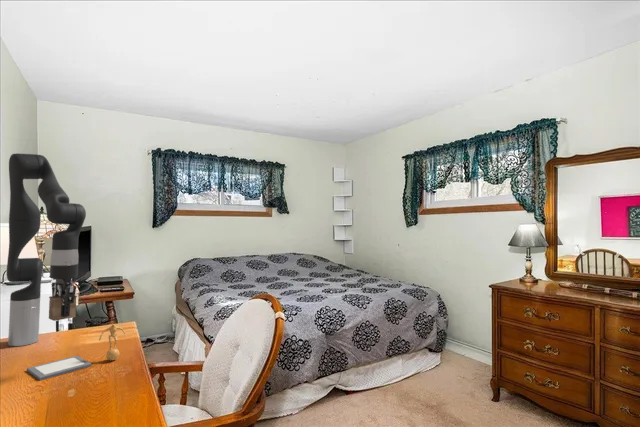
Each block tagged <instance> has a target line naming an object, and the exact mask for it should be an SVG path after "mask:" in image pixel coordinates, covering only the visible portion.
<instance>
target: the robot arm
mask: <svg viewBox="0 0 640 427" xmlns="http://www.w3.org/2000/svg"><path fill="white" fill-rule="evenodd" d="M8 160H9V161H8V176H9V192H10V195H9V197H10V199H9V214H8V240H9V241H8V254H7V255H8V256H7V264H6V278H7V281H8V282H9V283H22V282H24V283H25V282H26V283H27V282H30V283H29V285H26V286H25V287H24V288H20V289H18V290H15V291H12V292H11V293H10V300H9V317H8V318H9V321H8V337H7V338H8V340H7V341H8V342H7V343H8V344H7V345H8V346H10V347H22V346H27V345H32V344H35V343H37V342H38V341H39V337H40V334H39V333H40V332H39V331H40V313H41V292H42V290H41V289H42V288H41V287H42V286H41V285H42V277H43V276H42V275H43V266H44V265H43V260H42V258H40V257H28V258H27V257H25V258H24V257H23V258H19V257H20V254H21V253H22V251H23V249H24V248H25V247H26V246H27V245H28V243H29V242H31V240H32V239H33V238H34V237H35V236H36V235H37V234H38V232H39V231H40V228H41V216H42V215H41V211H40V208H39V207H38V205H37V204H36V203H35V202H34V200H32V198H31V197H30V195H29V194H28V193H27V191H26V189H25V186H24V180H39V179H41V182H40V183H39V185H38V187H37V195H38V197H39V198H40V200H41V201H42V203H43V204H44V206H45V210H46V219H47V220H48V221H49V222H51V223H52V224H55V225H68V227H67V228H66V229H65V230H60V231H57V232H54V233H53V234H52V241H51V245H52V246H51V253H50V263H49V264H50V265H49V266H50V267H49V278H50V279H53V280H55V282H51V284H50V285H51V293H52V294H51V296H59V298H61V305H62V306H61V317H68V316H69V315H70V304H71V303H74V298H75V295H76V292H77V286H76V285H74V283H73V281H72V279H75V278H77V277H78V275H79V237H80V233H81V230H82V228H83V224H84V223H85V219H86V215H87V214H86V213H87V212H86V209H85V207H84V206H83V205H82V204H80V203H72V202H71V203H70V197H69V196H68V194H67V193H66V191H65V190H64V189H63V188H62V186H61V185H60V184H59V182H58V179H57V177H56V175H55V172H54V170H53V167H52V165H51V164H50V162H49V160H48V159H47V158H46V157H45V156H44V155H42V154H35V153H12V154H11V155H10V157H9V159H8ZM67 299H68V300H67Z"/></svg>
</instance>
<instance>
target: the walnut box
mask: <svg viewBox="0 0 640 427" xmlns="http://www.w3.org/2000/svg"><path fill="white" fill-rule="evenodd" d="M77 297H78V295H76V294H75V298H74V303H71V304H70V315H69V316H68V317H61V306H62V305H61V298H59V296H52V295H51V296H49V297H48V298H49V300H48V301H49V303H48V304H49V305H48V319H49V320H51V321H60V320H67V319H71V318H72V319H73V318H76V311H77V310H76V309H77ZM67 300H68V299H67Z"/></svg>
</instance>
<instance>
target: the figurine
mask: <svg viewBox="0 0 640 427" xmlns="http://www.w3.org/2000/svg"><path fill="white" fill-rule="evenodd" d="M117 330H121V331H122V333H123V334H124V336H125V338H127V334H126V332H125V330H124V328H122V327H119V326H117V325H115V324H112V325H110V326H109V327H107V328H105V329H104V330H103V331H102V332H101V335H99V338H98V341H101V340H102V337H103V334H104V333H105V332H108V331H109V333H110V334H109V335H108V343H109V349H108V351H107V352H106V354H105V357H106V359H107V360H108V361H116V360H117V359H118V358H119V357H120V351H119V349H118V348H117V345H116V344H117V342H118V334H116V332H117ZM113 340H114V346H113V348H112V341H113Z"/></svg>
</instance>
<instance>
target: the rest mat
mask: <svg viewBox="0 0 640 427" xmlns="http://www.w3.org/2000/svg"><path fill="white" fill-rule="evenodd" d="M89 367H93V366H92V363H91V362H89V361H87V360H86V359H84V358H83V357H80V356H78V355H73V356H71V357H66V358H61V359H57V360H54V361H50V362H46V363H42V364H38V365H33V366H30V367H27V368H26V371H27V372H28V373H29V374H31V375H32V376H34V378H36V379H37V380H39V381H43V380H47V379H51V378H55V377H58V376H61V375H64V374H67V373H71V372H75V371H78V370H83V369H86V368H89Z"/></svg>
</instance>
